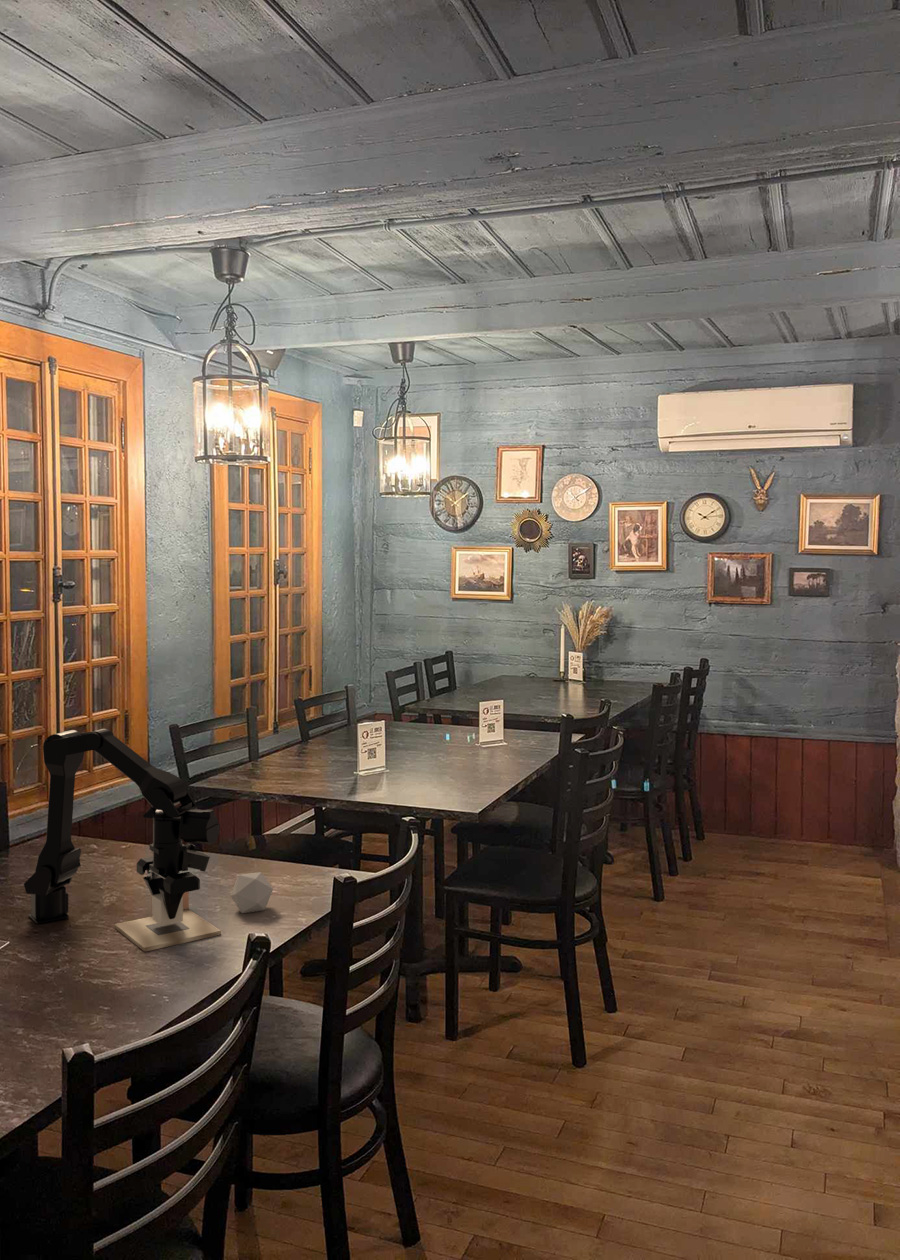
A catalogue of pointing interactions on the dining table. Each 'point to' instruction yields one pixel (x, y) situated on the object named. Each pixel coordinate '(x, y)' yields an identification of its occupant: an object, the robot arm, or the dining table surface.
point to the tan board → (166, 931)
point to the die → (251, 892)
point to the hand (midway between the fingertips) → (167, 915)
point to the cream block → (164, 911)
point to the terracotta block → (186, 900)
